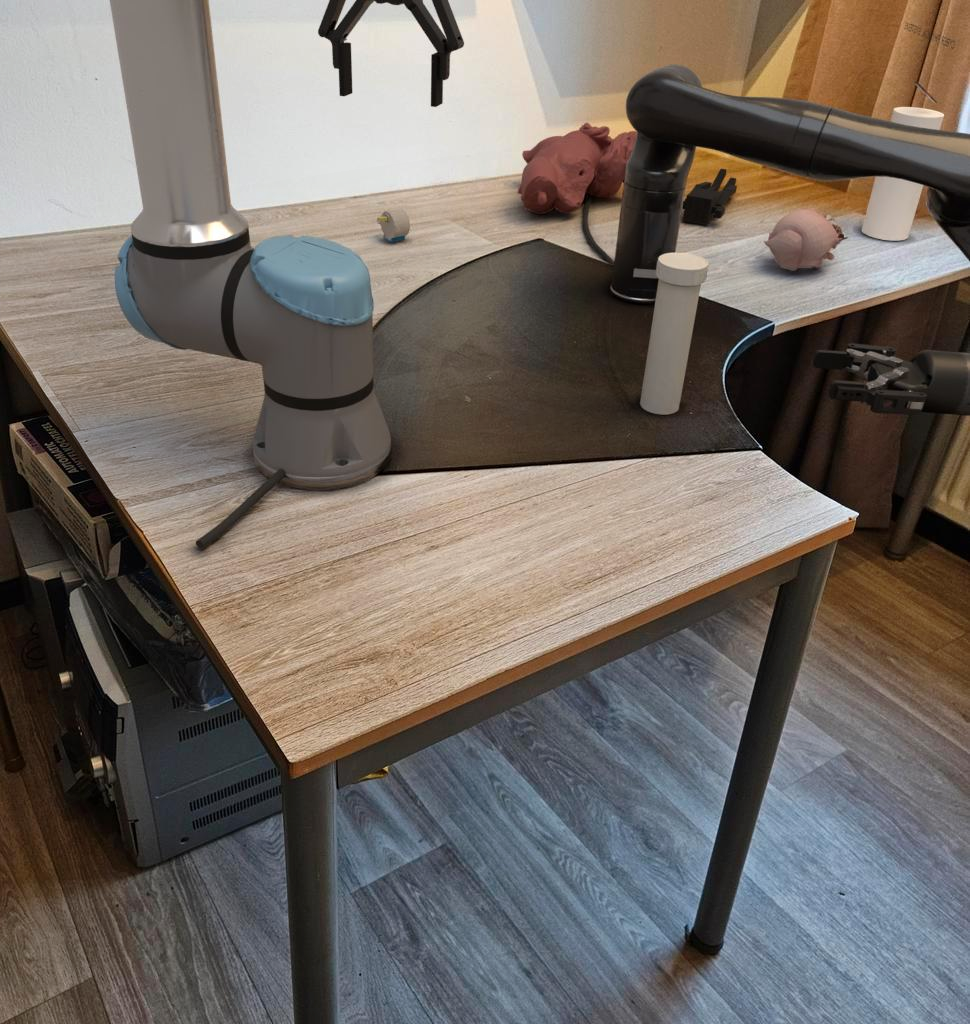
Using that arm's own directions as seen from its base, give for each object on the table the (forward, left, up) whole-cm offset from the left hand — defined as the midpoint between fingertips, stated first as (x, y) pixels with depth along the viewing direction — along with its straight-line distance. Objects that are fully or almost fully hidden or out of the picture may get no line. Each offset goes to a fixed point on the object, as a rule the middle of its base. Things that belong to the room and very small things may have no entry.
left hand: (390, 100), depth 134 cm
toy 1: (+70, -40, -28) cm, 85 cm away
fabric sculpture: (+58, -14, -28) cm, 66 cm away
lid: (-21, -46, -9) cm, 52 cm away
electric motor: (+21, +9, -28) cm, 36 cm away
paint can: (+67, -73, -28) cm, 103 cm away
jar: (-21, -46, -28) cm, 58 cm away
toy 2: (+40, -59, -28) cm, 76 cm away
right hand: (-17, -64, -22) cm, 70 cm away
